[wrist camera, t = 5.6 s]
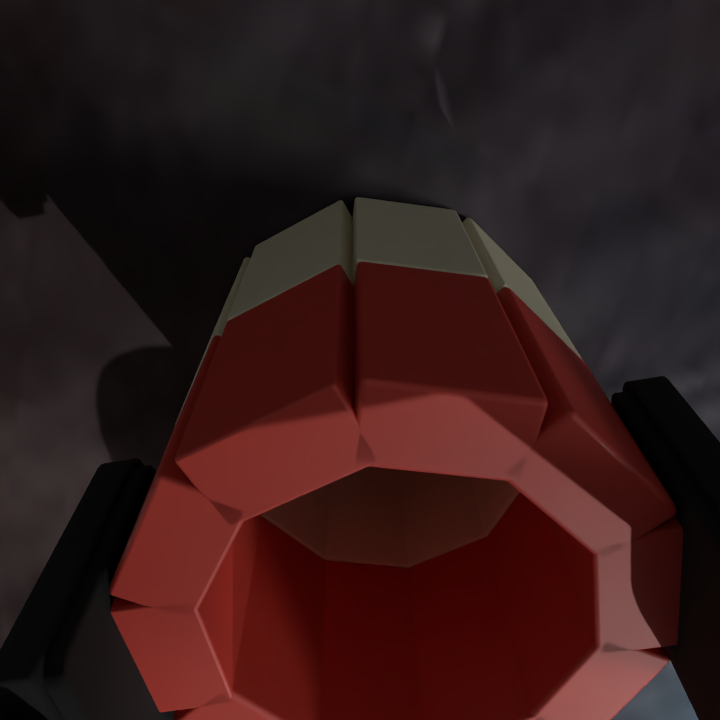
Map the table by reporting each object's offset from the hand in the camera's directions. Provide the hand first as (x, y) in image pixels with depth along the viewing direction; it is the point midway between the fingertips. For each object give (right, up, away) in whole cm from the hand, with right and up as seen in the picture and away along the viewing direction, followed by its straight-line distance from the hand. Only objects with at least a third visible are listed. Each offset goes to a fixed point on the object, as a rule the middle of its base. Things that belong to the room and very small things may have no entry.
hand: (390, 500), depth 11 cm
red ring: (0, +1, +1) cm, 1 cm away
